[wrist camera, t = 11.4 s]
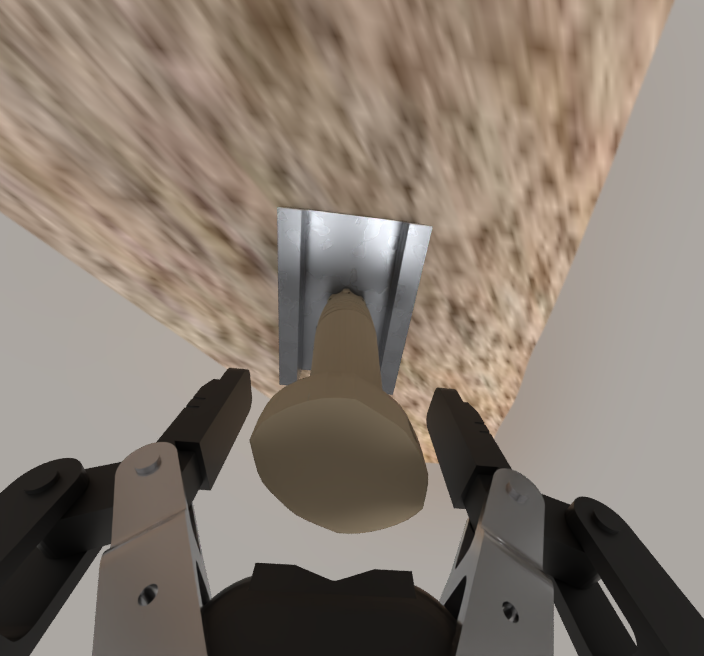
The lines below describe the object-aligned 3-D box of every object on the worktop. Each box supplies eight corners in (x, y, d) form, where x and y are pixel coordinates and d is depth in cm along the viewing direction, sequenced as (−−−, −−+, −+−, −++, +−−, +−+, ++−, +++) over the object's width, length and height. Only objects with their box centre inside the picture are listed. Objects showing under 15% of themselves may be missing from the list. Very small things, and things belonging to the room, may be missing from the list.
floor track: (289, 207, 19) (277, 206, 16) (419, 223, 19) (432, 226, 16) (288, 362, 25) (279, 384, 22) (387, 371, 25) (392, 394, 22)
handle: (355, 258, 20) (375, 372, 6) (386, 325, 22) (449, 510, 9) (302, 284, 20) (214, 437, 7) (338, 346, 23) (325, 545, 9)
